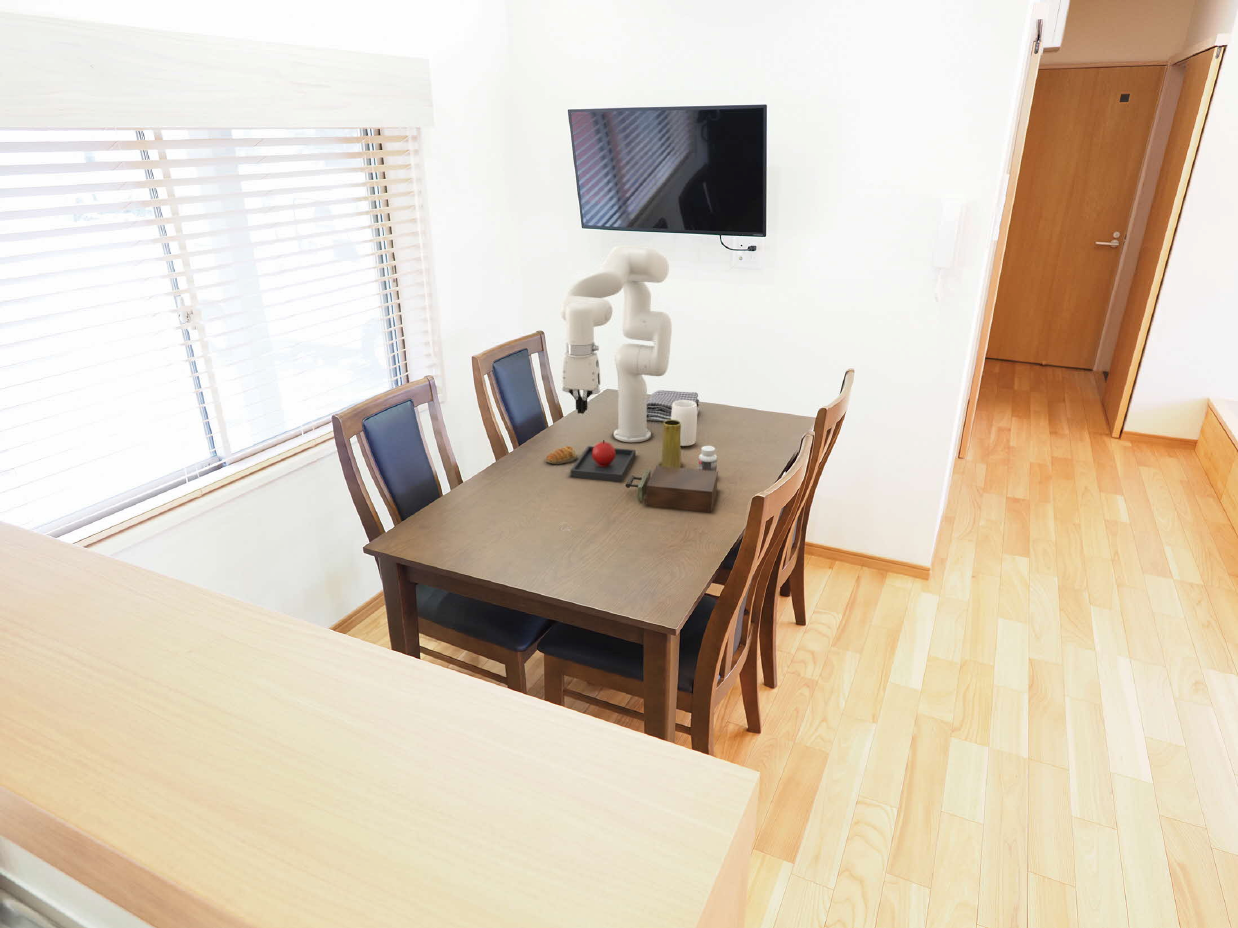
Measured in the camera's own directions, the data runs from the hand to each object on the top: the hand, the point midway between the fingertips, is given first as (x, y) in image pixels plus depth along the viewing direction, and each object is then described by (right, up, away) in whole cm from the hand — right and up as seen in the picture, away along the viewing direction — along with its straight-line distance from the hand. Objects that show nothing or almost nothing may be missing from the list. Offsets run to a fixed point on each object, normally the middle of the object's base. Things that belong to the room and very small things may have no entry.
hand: (581, 412), depth 222 cm
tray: (+6, -16, +20) cm, 26 cm away
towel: (+30, +2, +61) cm, 68 cm away
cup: (+32, -9, +36) cm, 49 cm away
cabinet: (+28, -24, -1) cm, 37 cm away
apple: (+6, -15, +19) cm, 25 cm away
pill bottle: (+37, -19, +11) cm, 43 cm away
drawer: (+23, -23, 0) cm, 33 cm away
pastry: (-7, -14, +25) cm, 29 cm away
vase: (+27, -15, +20) cm, 37 cm away
